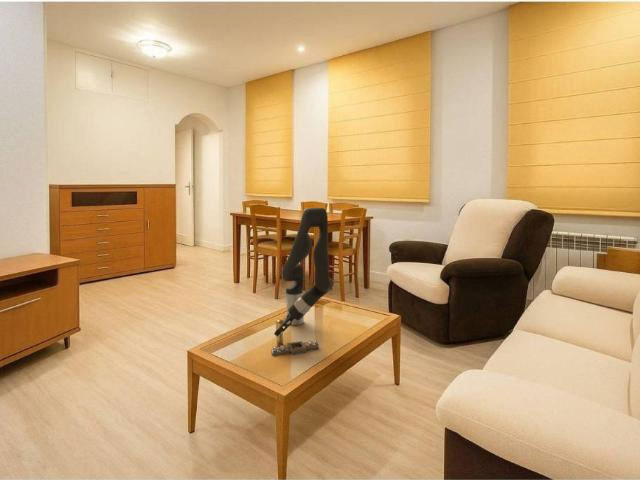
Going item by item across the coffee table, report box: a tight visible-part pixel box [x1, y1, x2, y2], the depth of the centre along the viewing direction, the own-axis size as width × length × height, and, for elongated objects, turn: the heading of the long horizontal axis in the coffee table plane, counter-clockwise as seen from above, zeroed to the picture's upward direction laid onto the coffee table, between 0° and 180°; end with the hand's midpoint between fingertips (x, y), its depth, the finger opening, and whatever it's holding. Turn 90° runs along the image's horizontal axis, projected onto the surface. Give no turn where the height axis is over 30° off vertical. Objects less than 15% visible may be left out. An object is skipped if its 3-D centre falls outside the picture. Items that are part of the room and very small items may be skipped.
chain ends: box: [270, 340, 320, 357], centre depth 177 cm, size 8×22×3 cm, turn 107°
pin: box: [275, 319, 284, 347], centre depth 184 cm, size 3×3×12 cm
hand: (277, 331), depth 184 cm, fingers open, 8 cm apart
